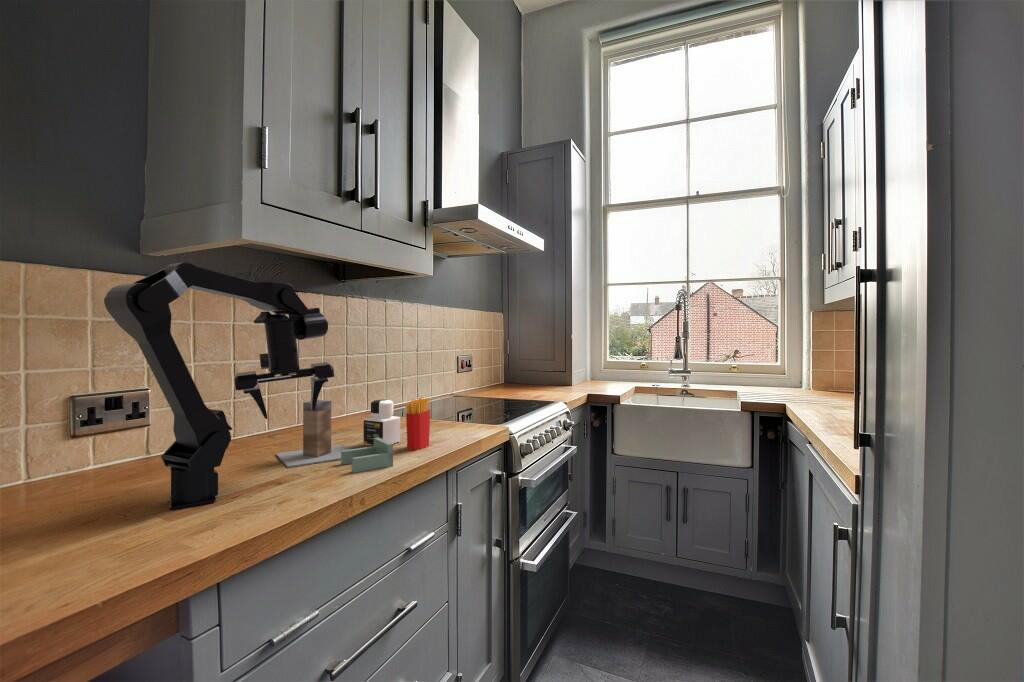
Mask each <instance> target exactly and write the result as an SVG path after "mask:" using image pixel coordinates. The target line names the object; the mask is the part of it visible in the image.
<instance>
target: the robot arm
mask: <svg viewBox="0 0 1024 682" xmlns="http://www.w3.org/2000/svg"><path fill="white" fill-rule="evenodd" d="M188 289H191V290H195V291H201V292H204V293H210V294H215V295H218V296H219V295H220V296H224V297H226V298H227V297H228V298H233V299H238V300H241V301H243V302H246V303H247V304H248V305H250V306H252V307H254V308H257V309H259V310H262V311H260V313H259V315H258V316H257V317H256V318H255V319H254V320H253V323H254V324H264V325H263V326H264V333H265V339H266V341H265V342H266V348H267V353H259V364H260V369H261V370H268V372H266V373H259V374H257V372H256V370H253V371H252V370H251V371H245V372H244V371H243V372H237V373H236V374H235V375H234V380H233V381H234V385H235V386H234V387H235V391H243V394H245V395H246V394H249V395H250V396H251V397H252V398H253V400H254V401H255V403H256V405H257V406H258V408H259V409H260V412H261V414H262V416H263V417H264V420H268V412H267V410H266V409H267V408H266V406H265V402H264V398H263V395H262V391H261V388H260V384H262V383H270V382H277V381H286V380H291V379H299V378H300V379H301V378H307V377H310V401H311V408H312V411H314V410H315V406H316V403H317V400H319V399H318V398H319V395H320V392H321V391H322V389H323V385H324V383H328V382H329V379H330V378H334V377H335V371H334V369H335V368H334V366H333V365H332V364H330V363H329V362H327V361H325V362H324V361H323V362H318V363H317V362H316V363H310V367H305V368H300V359H299V351H298V350H299V349H298V342H297V340H298V341H301V340H302V341H303V340H309V339H315V338H316V339H317V338H322V337H325V336H326V335H327V333H328V331H329V322H328V320H327V319H326V317H325V316H324V315H323V313H321V310H320V307H309V308H308V307H307V306H306V304H305V303H304V302H303V300H302V299H301V298H300V296H299V295H298V294H297V293H296V290H295V286H293V285H292V284H290V283H289V282H278V281H276V282H275V281H256V280H251V279H248V278H245V277H240V276H237V275H233V274H228V273H225V272H220V271H217V270H213V269H209V268H205V267H201V266H198V265H195V264H194V263H191V262H178V263H177V262H176V263H171V264H168V265H167V266H165V267H164V268H163V269H160V270H159V271H156V272H154V273H152V274H150V275H147V276H145V277H143V278H140V279H138V280H136V281H134V282H133V283H126V284H119V285H115V286H114V287H112V288H110V289H109V290H108V291H107V292H106V295H105V297H104V298H103V304H104V307H105V309H106V311H107V313H109V315H110V316H111V317H112V318H113V320H114V321H115V322H116V324H117V325H118V326H119V327H120V328H121V329H122V330H123V331H124V332H126V334H127V335H128V336H130V337H131V338H132V339H134V341H135V342H136V344H137V345H138V346H139V348H140V351H141V352H142V353H141V354H142V355H143V357H144V358H145V360H146V363H147V364H148V366H149V368H150V370H151V372H152V375H153V376H154V378H155V380H156V382H157V384H158V385H159V388H160V390H161V391H162V393H163V396H164V398H165V400H166V401H167V403H168V405H169V408H170V410H171V412H172V413H173V417H174V418H173V428H172V429H173V434H174V437H175V441H174V442H172V444H171V445H169V447H168V449H166V450H165V452H163V454H161V456H160V459H161V461H162V463H163V465H164V467H170V497H169V509H170V510H177V509H182V508H187V507H193V506H198V505H204V504H210V503H215V502H216V501H217V499H216V497H217V496H218V495H219V471H218V470H217V469H215V468H218V467H220V466H221V464H222V462H223V459H224V456H225V452H226V450H227V449H228V448H229V445H230V442H231V441H232V435H231V431H232V430H233V427H232V426H230V425H229V423H228V421H227V417H226V414H225V412H224V410H221V409H212V408H209V407H207V405H206V404H205V401H204V400H203V398H202V396H201V394H200V392H199V389H198V387H197V385H196V383H195V381H194V378H193V377H192V374H191V372H190V371H189V369H188V367H187V364H186V362H185V359H184V358H183V356H182V354H181V351H180V349H179V348H178V346H177V343H176V341H175V338H174V337H173V335H172V332H171V331H172V317H173V316H172V311H171V308H170V303H172V302H173V301H175V300H177V299H179V298H180V297H181V296H182V295H183V294H184V293H185V292H186V291H187V290H188ZM271 312H272V313H273V314H272V313H271ZM287 315H288V316H287ZM277 375H278V376H277Z"/></svg>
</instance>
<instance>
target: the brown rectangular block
mask: <svg viewBox="0 0 1024 682" xmlns="http://www.w3.org/2000/svg"><path fill="white" fill-rule="evenodd" d="M302 403H303V405H302V414H303V415H302V417H303V419H302V422H303V423H302V428H303V429H302V436H303V437H302V438H303V439H302V450H303V456H310V457H320V456H323V455H327V454H330V453H331V446H332V400H325V399H323V400H322V399H317V403H316V406H315V410H314V411H312V408H311V400H310V401H309V400H308V401H304V402H302Z"/></svg>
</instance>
